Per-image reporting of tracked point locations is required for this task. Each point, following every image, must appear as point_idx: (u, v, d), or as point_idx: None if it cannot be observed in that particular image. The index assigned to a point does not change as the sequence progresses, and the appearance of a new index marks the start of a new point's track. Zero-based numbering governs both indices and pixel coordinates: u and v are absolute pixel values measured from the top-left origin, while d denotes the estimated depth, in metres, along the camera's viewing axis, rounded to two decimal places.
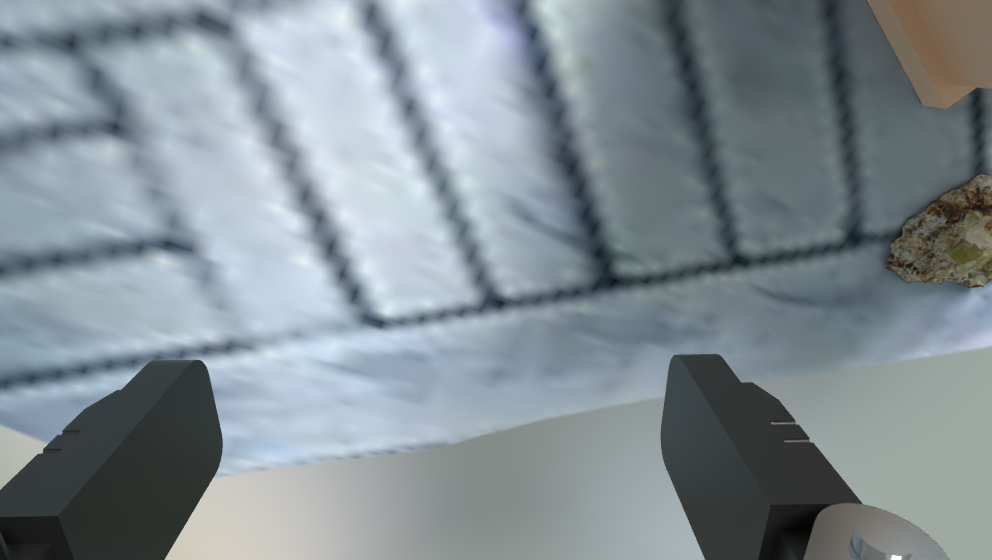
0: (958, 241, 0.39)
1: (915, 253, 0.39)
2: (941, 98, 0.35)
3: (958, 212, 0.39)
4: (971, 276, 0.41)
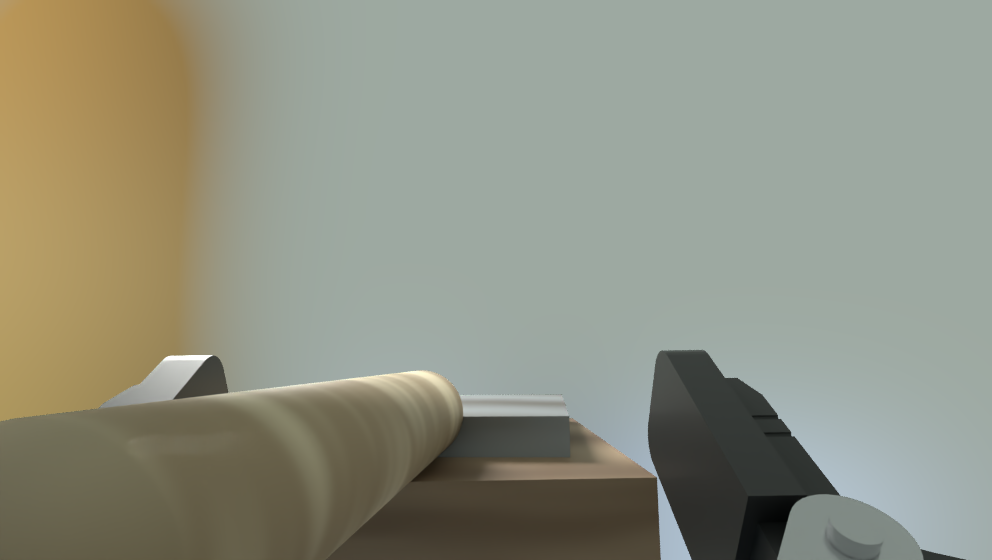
0: None
1: None
2: None
3: None
4: None
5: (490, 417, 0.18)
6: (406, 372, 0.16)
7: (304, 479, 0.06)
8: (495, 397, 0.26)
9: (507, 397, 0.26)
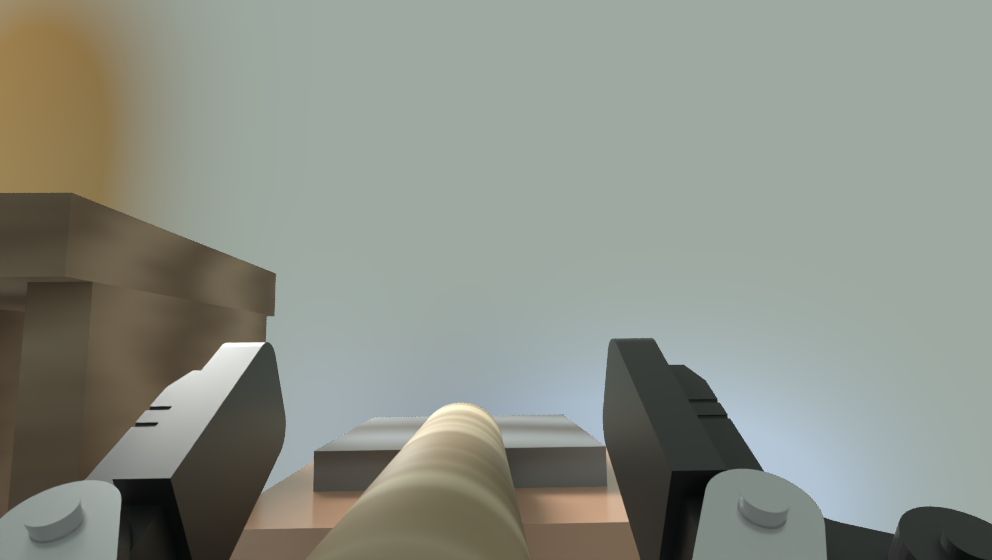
0: None
1: None
2: None
3: None
4: None
5: (529, 448, 0.18)
6: (458, 408, 0.16)
7: None
8: (502, 419, 0.27)
9: (514, 419, 0.27)
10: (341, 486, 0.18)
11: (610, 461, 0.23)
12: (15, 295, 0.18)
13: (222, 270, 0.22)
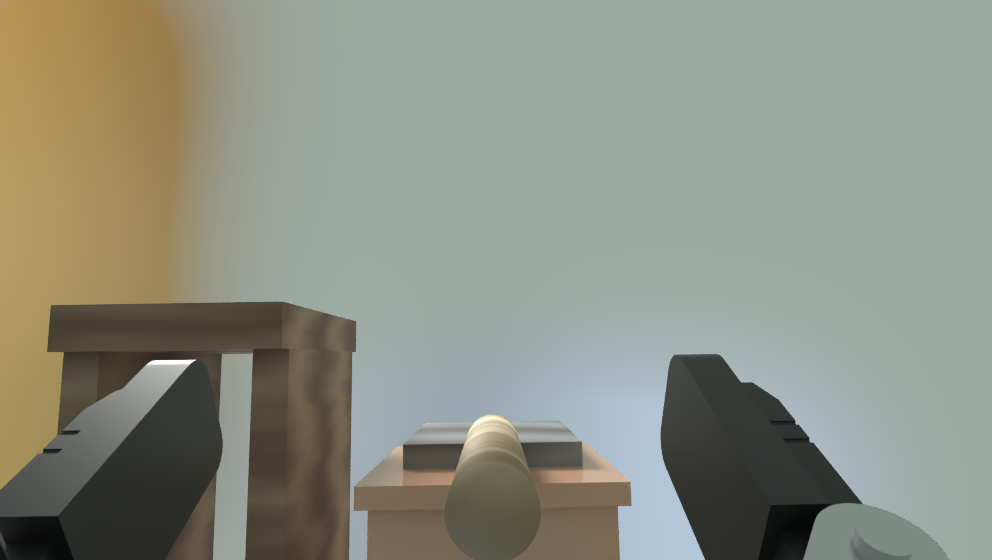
0: None
1: None
2: None
3: None
4: None
5: (534, 442, 0.30)
6: (492, 418, 0.28)
7: (532, 479, 0.18)
8: (516, 424, 0.38)
9: (525, 424, 0.38)
10: (419, 465, 0.30)
11: (589, 452, 0.34)
12: None
13: (333, 327, 0.34)
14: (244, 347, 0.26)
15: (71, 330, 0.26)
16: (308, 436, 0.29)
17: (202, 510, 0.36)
